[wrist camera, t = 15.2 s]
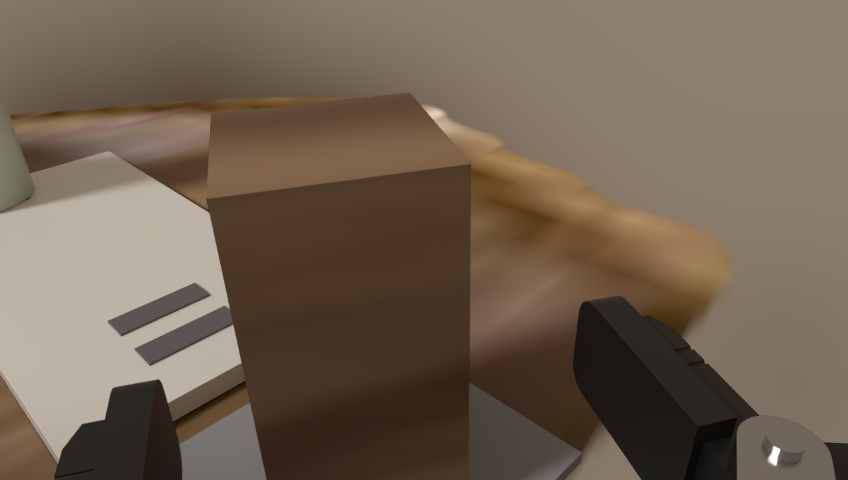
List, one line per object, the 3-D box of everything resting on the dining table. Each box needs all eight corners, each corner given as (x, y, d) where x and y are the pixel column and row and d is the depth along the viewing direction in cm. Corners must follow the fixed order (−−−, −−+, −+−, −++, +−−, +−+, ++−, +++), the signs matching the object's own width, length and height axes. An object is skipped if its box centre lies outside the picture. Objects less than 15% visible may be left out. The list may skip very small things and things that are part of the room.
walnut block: (468, 505, 18) (470, 163, 13) (282, 551, 17) (206, 199, 12) (421, 384, 22) (409, 92, 17) (270, 415, 21) (211, 114, 16)
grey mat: (343, 702, 14) (341, 692, 14) (155, 469, 20) (152, 460, 19) (580, 462, 19) (582, 452, 19) (380, 334, 25) (379, 326, 25)
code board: (68, 480, 19) (59, 459, 19) (-97, 224, 34) (-104, 208, 34) (355, 318, 26) (353, 299, 25) (112, 163, 41) (108, 149, 41)
